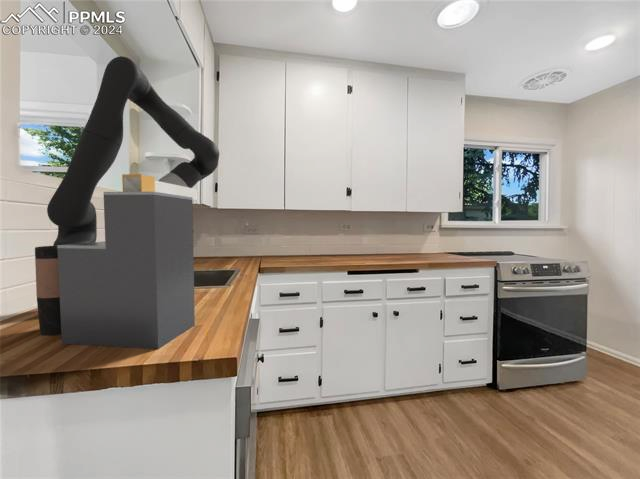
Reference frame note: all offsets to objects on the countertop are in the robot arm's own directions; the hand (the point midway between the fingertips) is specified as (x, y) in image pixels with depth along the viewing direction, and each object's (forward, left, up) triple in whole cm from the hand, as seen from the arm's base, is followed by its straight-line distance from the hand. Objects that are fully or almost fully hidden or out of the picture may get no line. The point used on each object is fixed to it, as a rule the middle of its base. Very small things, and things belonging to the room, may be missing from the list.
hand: (120, 234), depth 75 cm
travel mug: (-10, -7, -23) cm, 26 cm away
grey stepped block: (+9, -7, -23) cm, 25 cm away
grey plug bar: (+14, -2, +9) cm, 17 cm away
